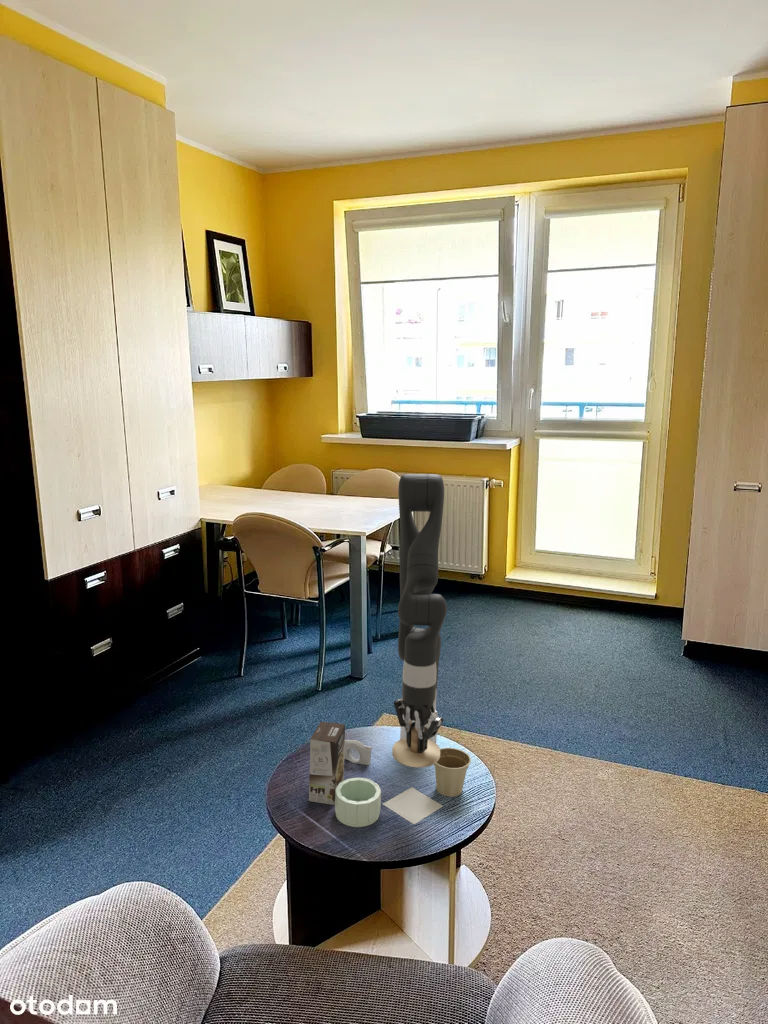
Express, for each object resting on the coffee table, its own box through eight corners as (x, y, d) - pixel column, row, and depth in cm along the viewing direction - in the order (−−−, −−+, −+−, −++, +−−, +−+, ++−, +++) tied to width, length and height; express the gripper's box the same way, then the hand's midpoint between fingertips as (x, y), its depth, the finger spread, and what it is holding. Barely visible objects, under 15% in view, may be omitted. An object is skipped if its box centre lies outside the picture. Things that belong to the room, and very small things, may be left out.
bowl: (358, 795, 165) (359, 772, 164) (388, 815, 159) (389, 791, 157) (326, 813, 158) (327, 789, 157) (356, 834, 152) (357, 809, 150)
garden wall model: (328, 755, 183) (328, 734, 181) (332, 751, 184) (332, 731, 183) (368, 767, 177) (369, 746, 176) (372, 764, 179) (372, 743, 178)
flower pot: (442, 774, 175) (444, 743, 174) (475, 788, 170) (477, 756, 168) (422, 791, 168) (424, 759, 166) (456, 806, 163) (458, 773, 161)
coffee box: (334, 806, 161) (336, 742, 158) (308, 802, 162) (309, 738, 159) (344, 784, 170) (346, 723, 167) (319, 780, 171) (320, 720, 168)
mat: (411, 788, 169) (411, 787, 169) (443, 807, 162) (443, 805, 162) (382, 805, 162) (382, 804, 162) (413, 826, 155) (414, 824, 155)
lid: (414, 735, 167) (415, 712, 166) (450, 754, 160) (451, 730, 158) (382, 752, 159) (383, 729, 158) (417, 773, 152) (419, 748, 151)
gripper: (454, 684, 153) (450, 755, 157) (407, 664, 163) (405, 731, 167) (431, 695, 148) (428, 767, 152) (385, 673, 158) (383, 742, 161)
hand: (416, 748), depth 159 cm, fingers closed on lid, 2 cm apart
